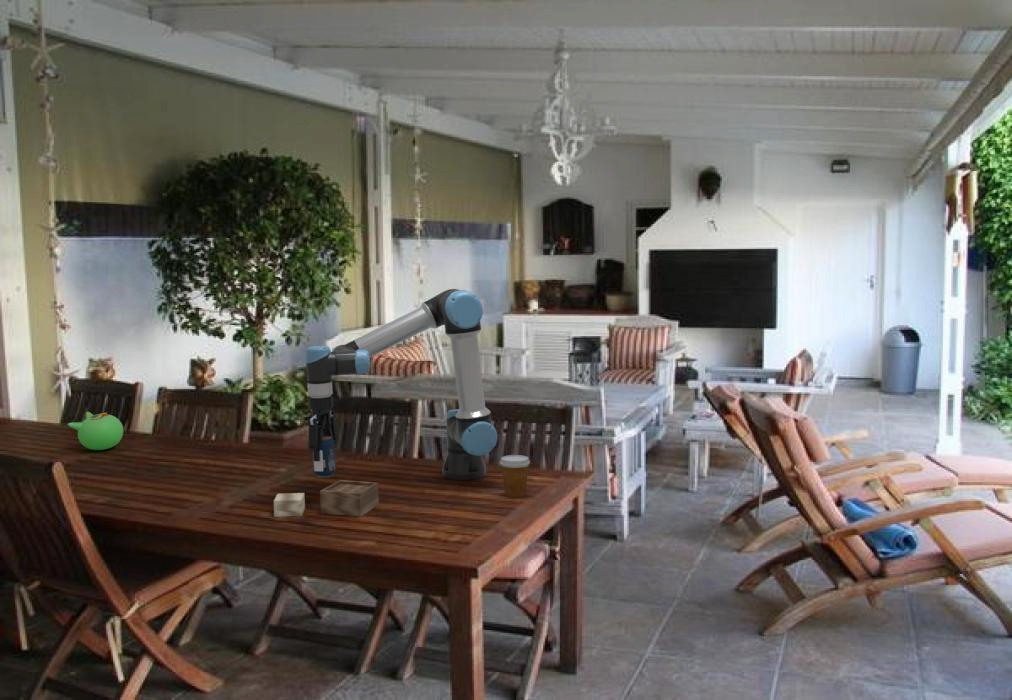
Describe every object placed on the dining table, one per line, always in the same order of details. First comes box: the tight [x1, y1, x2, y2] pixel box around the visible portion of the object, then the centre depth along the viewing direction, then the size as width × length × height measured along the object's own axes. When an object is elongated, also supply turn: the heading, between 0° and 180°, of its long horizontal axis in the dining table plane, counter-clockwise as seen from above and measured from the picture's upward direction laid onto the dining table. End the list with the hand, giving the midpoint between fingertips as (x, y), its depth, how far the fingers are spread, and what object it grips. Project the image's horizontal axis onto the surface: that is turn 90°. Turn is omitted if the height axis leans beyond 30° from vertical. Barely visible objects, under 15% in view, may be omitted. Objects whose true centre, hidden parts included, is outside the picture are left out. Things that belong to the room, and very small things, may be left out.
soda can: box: [311, 435, 337, 478], centre depth 300 cm, size 7×7×12 cm
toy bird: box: [67, 411, 124, 451], centre depth 373 cm, size 18×17×15 cm
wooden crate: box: [319, 479, 380, 518], centre depth 290 cm, size 13×13×7 cm
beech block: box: [273, 492, 306, 518], centre depth 287 cm, size 8×8×5 cm
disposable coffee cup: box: [499, 454, 531, 498], centre depth 303 cm, size 10×10×12 cm
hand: (324, 467), depth 300 cm, fingers closed on soda can, 7 cm apart
